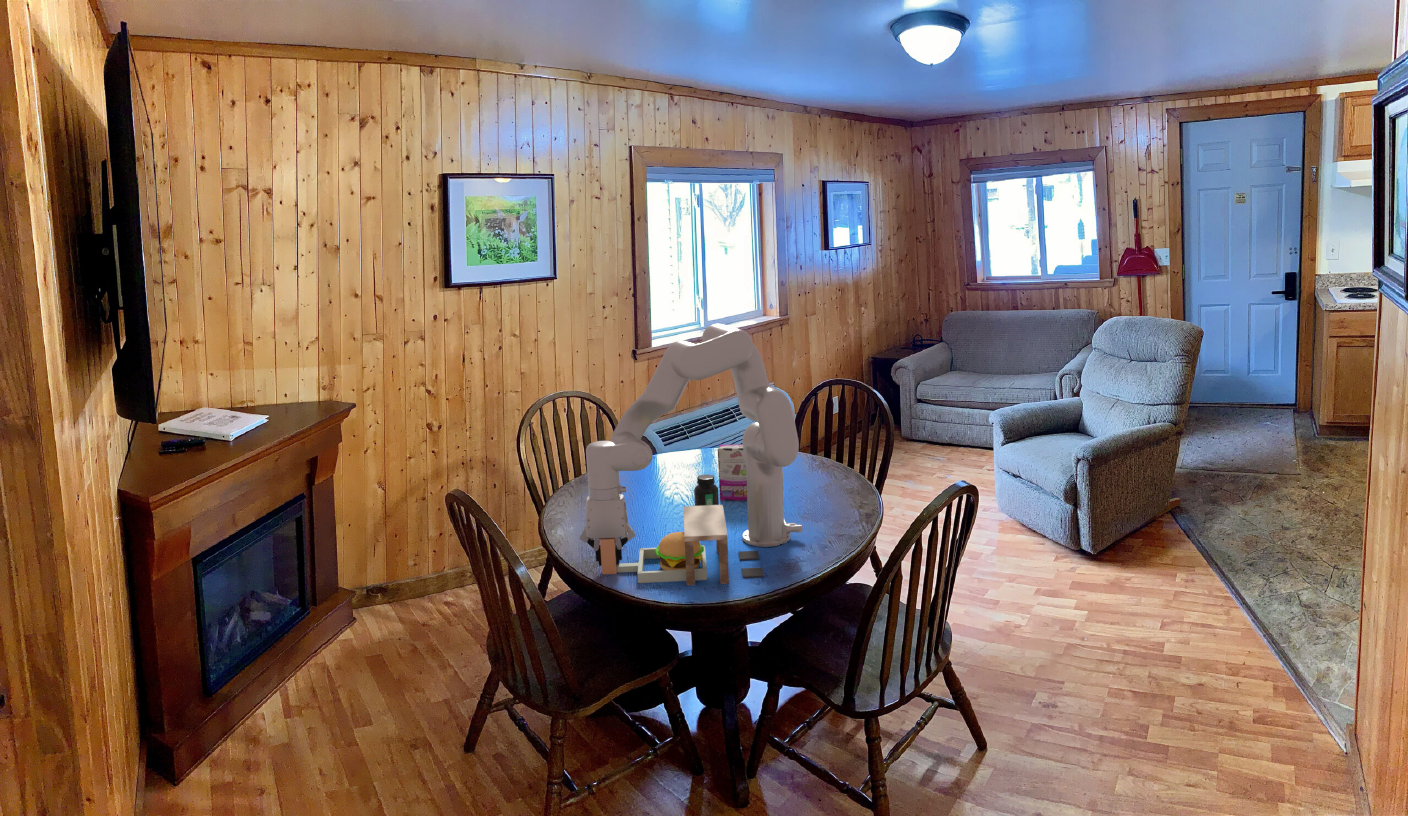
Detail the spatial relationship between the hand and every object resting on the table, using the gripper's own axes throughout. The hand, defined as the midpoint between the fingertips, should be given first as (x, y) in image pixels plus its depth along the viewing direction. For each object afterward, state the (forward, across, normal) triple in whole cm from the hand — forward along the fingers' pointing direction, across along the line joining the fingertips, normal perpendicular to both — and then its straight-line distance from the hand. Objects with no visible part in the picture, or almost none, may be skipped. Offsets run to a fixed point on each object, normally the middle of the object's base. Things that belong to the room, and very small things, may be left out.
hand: (609, 562), depth 231 cm
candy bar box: (+3, -35, -51) cm, 62 cm away
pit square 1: (+2, -35, -5) cm, 35 cm away
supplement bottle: (+3, -25, -36) cm, 44 cm away
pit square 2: (+2, -35, +6) cm, 35 cm away
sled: (+2, -11, 0) cm, 11 cm away
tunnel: (+2, -24, 0) cm, 24 cm away
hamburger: (+3, -17, -1) cm, 18 cm away
